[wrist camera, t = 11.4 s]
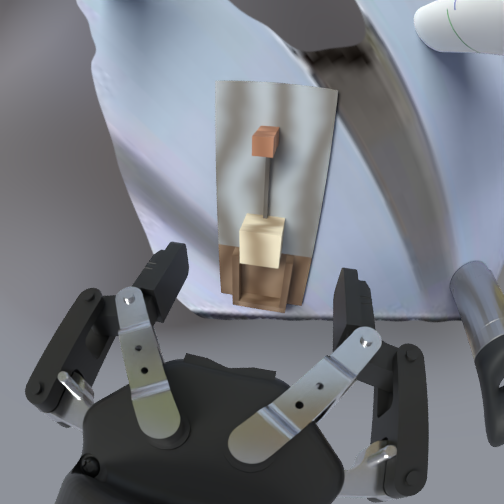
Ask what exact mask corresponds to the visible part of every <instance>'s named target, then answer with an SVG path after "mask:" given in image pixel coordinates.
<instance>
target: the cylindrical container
mask: <svg viewBox="0 0 504 504" xmlns="http://www.w3.org/2000/svg"><path fill="white" fill-rule="evenodd" d="M414 26H415V30H416V32H417V34H418V36H419V37H420V39H421V40H422V41H423V42H424V43H425V44H426V45H427V46H428V47H430V48H432V49H433V50H436V51H439V52H462V53H482V54H494V55H504V0H437V1H435V2H432V3H430V4H428V5H425V6H423V7H421V8H419V9H418V10H417V12H416V13H415V16H414Z"/></svg>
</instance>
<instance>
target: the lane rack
mask: <svg viewBox="0 0 504 504" xmlns="http://www.w3.org/2000/svg"><path fill="white" fill-rule="evenodd" d="M337 97H338V90H333V89H327V88H320V87H313V86H305V85H296V84H285V83H273V82H257V81H215V128H216V184H217V216H218V241H219V262H220V281H221V293H226V294H231V295H233V305H239V306H245V307H250V308H256V309H262V310H268V311H275V312H281V313H285V308H286V303H287V304H293V305H300V306H301V305H302V300H303V296H304V292H305V287H306V283H307V278H308V274H309V269H310V264H311V259H312V255H313V250H314V245H315V240H316V234H317V229H318V224H319V218H320V213H321V207H322V202H323V196H324V190H325V184H326V178H327V172H328V165H329V158H330V152H331V145H332V137H333V130H334V122H335V114H336V106H337ZM260 126H273V127H279V144H278V147H277V149H276V151H275V154H274V156H273V158H271V159H270V179H269V198H268V216H274V217H282V218H285V225H284V235H283V245H282V252H281V258H280V263H279V268H278V269H277V268H270V267H263V266H256V265H249V264H242V263H240V244H239V230H240V228H241V226H242V223H243V221H244V219H245V216H246V214H247V213H249V214H257V215H263V207H264V185H265V161H266V157H259V156H252V136H253V134H254V133H255V132H256V131H257V130H258V128H259V127H260Z"/></svg>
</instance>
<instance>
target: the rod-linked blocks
mask: <svg viewBox="0 0 504 504" xmlns="http://www.w3.org/2000/svg"><path fill="white" fill-rule="evenodd" d="M278 144H279V127H273V126H260V127H259V128H258V130H257V131H256V132H255V133H254V134H253V136H252V156H259V157H266V161H265V185H264V207H263V215H257V214H249V213H247V214H246V216H245V219H244V221H243V223H242V226H241V228H240V230H239V244H240V263H242V264H249V265H256V266H263V267H270V268H277V269H278V268H279V263H280V258H281V252H282V245H283V235H284V225H285V218H282V217H274V216H268V198H269V179H270V159H271V158H273V156H274V154H275V151H276V149H277V147H278Z"/></svg>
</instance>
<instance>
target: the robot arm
mask: <svg viewBox="0 0 504 504" xmlns="http://www.w3.org/2000/svg"><path fill="white" fill-rule="evenodd" d="M188 272H189V264H188V257H187V249H186V245H185V244H184V243H177V242H170V243H169V245H168V246H167V248H166V249H165V250H160V251H158V252H157V253H156V254H154V255H153V256H152V258H151V259H150V261H149V263H147V265H146V266H145V268H144V269H143V271H142V272H141V274H140V275H139V277H138V278H137V279H136V281H135V283H134V284H133V285H132V287H127V288H124V289H122V290H121V291H120V292H118V294H117V295H115V296H114V295H113V296H102V294H101V292H100V290H98V289H96V288H90V289H86V290H85V291H83V292H82V293H81V294H80V295H79V296H78V298H77V299H76V301H75V303H74V304H73V305H72V307H71V308H70V310H69V311H68V313H67V315H66V316H65V318H64V319H63V321H62V323H61V324H60V326H59V327H58V329H57V331H56V333H55V334H54V336H53V337H52V339H51V341H50V343H49V344H48V346H47V348H46V350H45V351H44V353H43V355H42V356H41V358H40V360H39V362H38V364H37V366H36V368H35V369H34V371H33V373H32V375H31V377H30V379H29V381H28V383H27V385H26V389H25V394H26V397H27V399H28V400H29V401H30V402H31V403H32V404H33V405H35V406H36V407H37V408H38V409H39V410H40V411H41V412H42V413H43V414H45V415H46V416H47V417H49V418H50V419H52V420H53V421H55V422H57V423H58V424H60V425H61V426H63V427H66V428H69V427H73V428H75V429H77V430H79V431H81V432H83V450H82V455H81V458H80V460H79V461H78V463H77V464H76V465H75V467H74V468H73V469H72V470H71V471H70V472H69V473H68V475H67V476H66V477H65V479H64V481H63V483H62V486H61V488H60V491H59V494H58V497H57V499H56V502H55V504H331V503H332V502H333V501H334V500H335V498H336V497H345V498H367V499H368V500H369V501H372V502H383V501H388V500H393V499H399V498H403V497H408V496H412V495H415V494H417V493H418V492H419V491H421V489H422V488H423V487H424V485H425V483H426V480H427V469H428V439H429V437H428V436H429V435H428V434H429V432H428V431H429V430H428V399H427V386H426V385H427V384H426V373H425V364H424V356H423V353H422V351H421V350H420V349H419V348H418V347H417V346H415V345H413V344H404V345H401V346H400V347H399V348H397V347H394V346H392V345H389V344H387V343H385V342H384V341H382V340H381V337H380V335H379V333H378V332H377V331H376V330H375V322H374V314H373V306H372V299H371V292H370V288H369V287H368V285H367V283H366V282H365V281H360V280H358V273H357V270H355V269H349V268H342V269H341V272H340V275H339V279H338V282H337V285H336V288H335V292H334V299H333V353H332V354H331V355H330V356H325V357H324V358H322V359H321V360H320V361H319V362H318V363H317V364H316V365H315V366H314V367H313V368H312V369H311V370H309V371H308V372H307V373H306V374H305V375H304V376H303V377H302V378H301V379H300V380H298V381H297V382H296V383H295V384H294V385H292V386H291V387H290V386H289V385H288V384H286V383H285V382H284V381H282V380H280V379H277V378H275V375H276V371H270V370H264V369H258V368H227V367H225V366H222V365H220V364H218V363H216V362H214V361H212V360H210V359H208V358H204V357H200V356H196V355H192V354H188V353H186V355H185V358H184V359H177V360H172V361H169V362H166V363H165V361H164V358H163V355H162V352H161V349H160V346H159V343H158V339H157V336H156V333H155V329H154V324H155V322H156V321H158V322H161V323H164V320H165V319H166V317H167V315H168V313H169V311H170V309H171V307H172V305H173V303H174V301H175V299H176V297H177V295H178V293H179V291H180V290H181V288H182V286H183V284H184V282H185V280H186V278H187V276H188ZM450 289H451V292H452V294H453V297H454V299H455V302H456V305H457V308H458V311H459V313H460V316H461V319H462V322H463V325H464V328H465V331H466V334H467V338H468V341H469V344H470V348H471V351H472V355H473V358H474V362H475V366H476V369H477V373H478V377H479V381H480V386H481V391H482V398H483V406H484V417H485V426H486V433H487V438H488V441H489V443H490V445H491V446H493V447H497V446H500V445H503V444H504V386H503V387H500V388H499V385H500V383H501V381H502V380H503V378H504V295H503V293H502V291H501V289H500V287H499V285H498V283H497V281H496V279H495V277H494V275H493V273H492V272H491V270H488V268H487V266H486V265H485V264H484V263H482V262H479V261H473V262H470V263H467V264H465V265H464V266H462V267H461V268H460V269H459V270H458V271H457V272H456V273H455V274H454V276H453V277H452V280H451V283H450ZM116 336H119V340H120V345H121V350H122V355H123V359H124V364H125V368H126V373H127V377H128V380H129V384H128V385H126V386H124V387H122V388H121V389H119V390H117V391H115V392H114V393H112V394H110V395H108V396H107V397H105V398H103V399H101V400H99V401H98V402H96V403H94V402H93V399H94V391H93V389H92V385H93V383H94V381H95V379H96V376H97V374H98V372H99V370H100V368H101V366H102V364H103V361H104V359H105V357H106V355H107V353H108V351H109V349H110V347H111V345H112V343H113V341H114V339H115V337H116ZM357 380H359V381H361V382H364V383H366V384H369V385H372V386H374V403H373V404H374V405H373V421H372V432H371V443H370V446H368V447H367V448H365V449H363V450H362V451H360V453H359V454H358V455H357V457H356V460H355V463H354V465H353V466H352V467H351V468H350V469H349V470H344V468H343V465H342V462H341V461H340V459H339V458H338V456H337V455H336V453H335V452H334V450H333V449H332V447H331V446H330V444H329V443H328V441H327V440H326V438H325V437H324V435H323V434H322V432H321V430H320V429H319V427H318V426H317V423H318V422H319V421H320V420H321V419H322V418H323V417H324V416H325V415H326V414H327V413H328V412H329V411H330V410H331V409H332V408H333V407H334V406H335V404H336V403H337V402H338V401H339V400H340V399H341V398H342V397H343V396H344V395H345V393H346V392H347V391H348V390H349V389H350V388H351V387H352V386H353V385H354V384H355V382H356V381H357Z"/></svg>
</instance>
